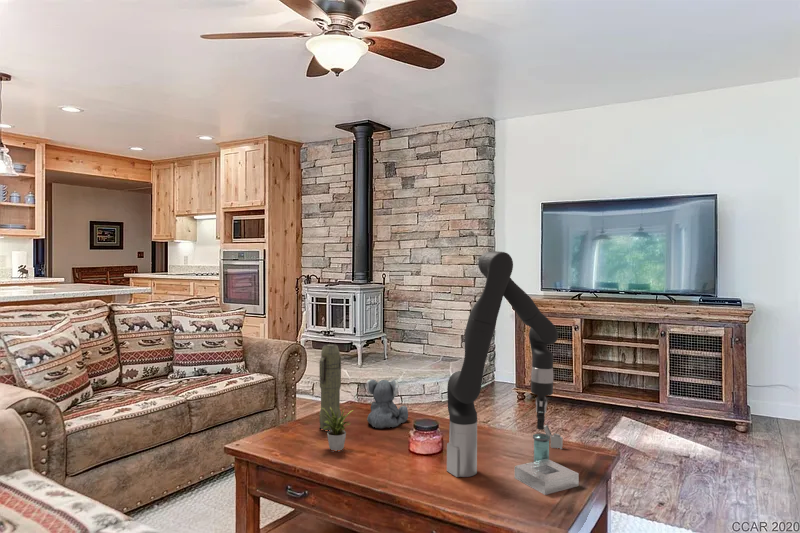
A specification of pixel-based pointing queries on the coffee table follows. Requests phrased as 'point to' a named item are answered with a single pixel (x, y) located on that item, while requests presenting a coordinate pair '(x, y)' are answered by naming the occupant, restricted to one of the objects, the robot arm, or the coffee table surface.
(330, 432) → the house plant
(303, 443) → the coffee table surface
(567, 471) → the bore housing
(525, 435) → the coffee table surface
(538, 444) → the cover plug
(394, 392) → the koala plush
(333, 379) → the thermos
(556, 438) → the lighter
